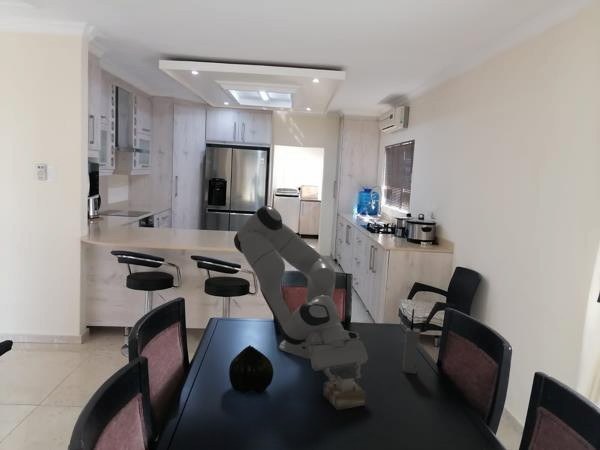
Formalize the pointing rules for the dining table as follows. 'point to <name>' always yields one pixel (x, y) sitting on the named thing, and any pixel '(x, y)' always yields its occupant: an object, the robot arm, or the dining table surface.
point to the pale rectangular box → (345, 380)
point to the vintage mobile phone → (410, 348)
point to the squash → (250, 371)
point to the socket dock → (344, 396)
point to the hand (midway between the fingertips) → (345, 379)
